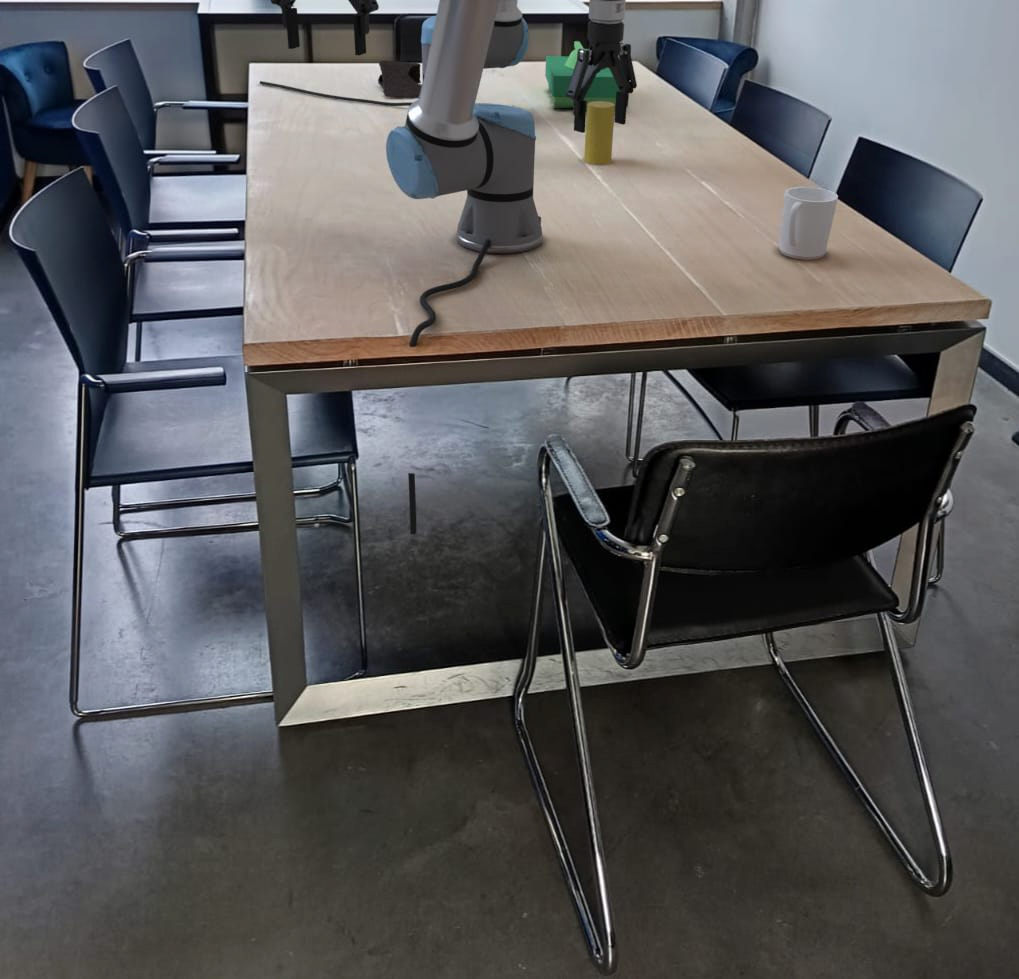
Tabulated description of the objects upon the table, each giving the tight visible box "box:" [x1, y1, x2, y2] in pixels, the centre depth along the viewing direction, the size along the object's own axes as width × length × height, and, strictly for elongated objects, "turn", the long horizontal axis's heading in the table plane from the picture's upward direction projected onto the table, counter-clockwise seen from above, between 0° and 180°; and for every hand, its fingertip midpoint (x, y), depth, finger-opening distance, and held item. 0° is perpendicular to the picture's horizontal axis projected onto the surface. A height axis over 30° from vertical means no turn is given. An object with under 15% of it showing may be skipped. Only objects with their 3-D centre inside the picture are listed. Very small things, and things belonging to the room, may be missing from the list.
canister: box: [583, 101, 615, 166], centre depth 240 cm, size 6×6×12 cm
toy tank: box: [544, 40, 621, 109], centre depth 295 cm, size 18×12×35 cm
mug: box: [778, 186, 839, 261], centre depth 190 cm, size 11×9×10 cm
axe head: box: [377, 59, 422, 99], centre depth 299 cm, size 18×8×15 cm
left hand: (599, 127), depth 239 cm, fingers open, 12 cm apart
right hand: (327, 51), depth 197 cm, fingers open, 13 cm apart
